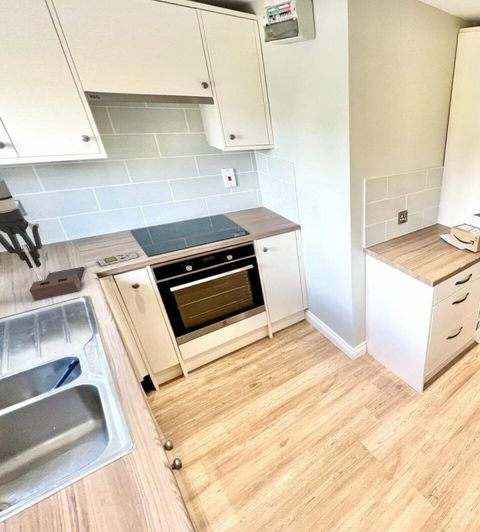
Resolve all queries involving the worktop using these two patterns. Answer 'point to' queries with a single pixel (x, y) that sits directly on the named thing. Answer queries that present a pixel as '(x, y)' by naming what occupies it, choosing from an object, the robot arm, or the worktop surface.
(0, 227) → the robot arm
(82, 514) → the worktop surface
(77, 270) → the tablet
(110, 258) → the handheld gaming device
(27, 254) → the stylus
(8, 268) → the worktop surface
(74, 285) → the slotted brown block
